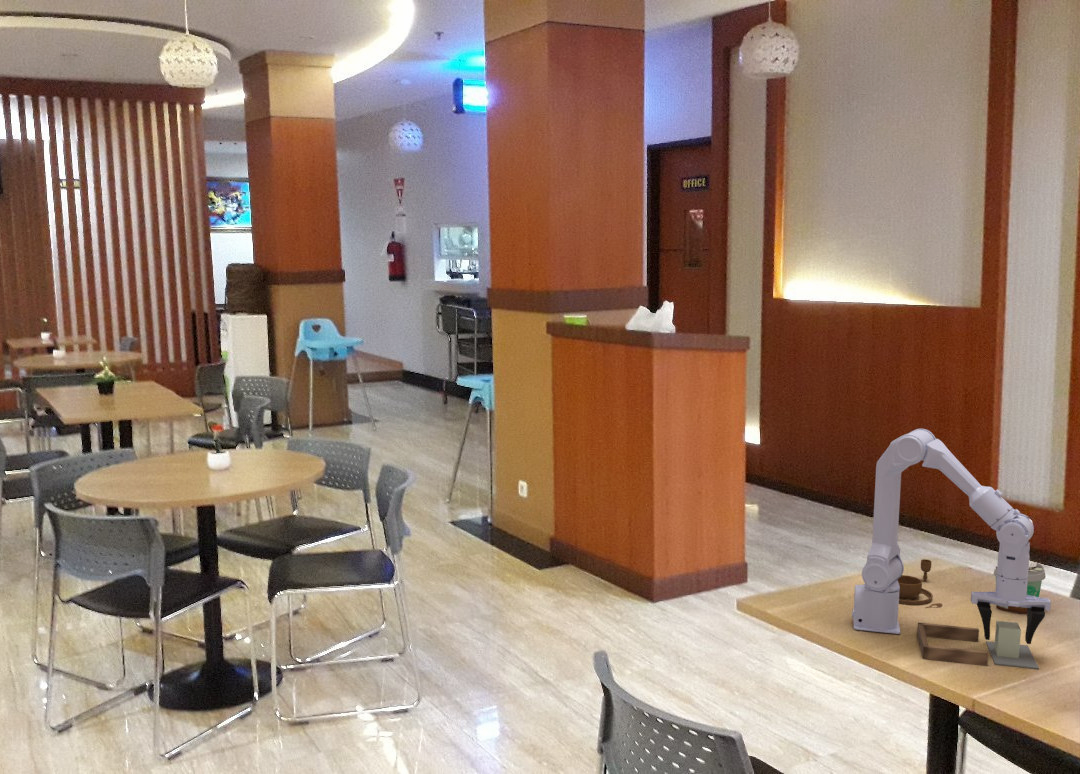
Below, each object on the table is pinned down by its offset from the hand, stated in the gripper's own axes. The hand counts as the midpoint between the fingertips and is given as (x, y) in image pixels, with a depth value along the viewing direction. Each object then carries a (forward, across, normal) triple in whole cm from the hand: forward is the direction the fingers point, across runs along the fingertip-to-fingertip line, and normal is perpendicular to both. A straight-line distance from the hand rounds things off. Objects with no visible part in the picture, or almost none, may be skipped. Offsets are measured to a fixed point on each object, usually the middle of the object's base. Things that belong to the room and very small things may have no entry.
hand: (1007, 640), depth 208 cm
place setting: (+4, -14, +34) cm, 37 cm away
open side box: (+3, -10, 0) cm, 10 cm away
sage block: (+3, 0, 0) cm, 3 cm away
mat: (+3, +1, 0) cm, 3 cm away
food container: (+3, +8, +29) cm, 30 cm away
